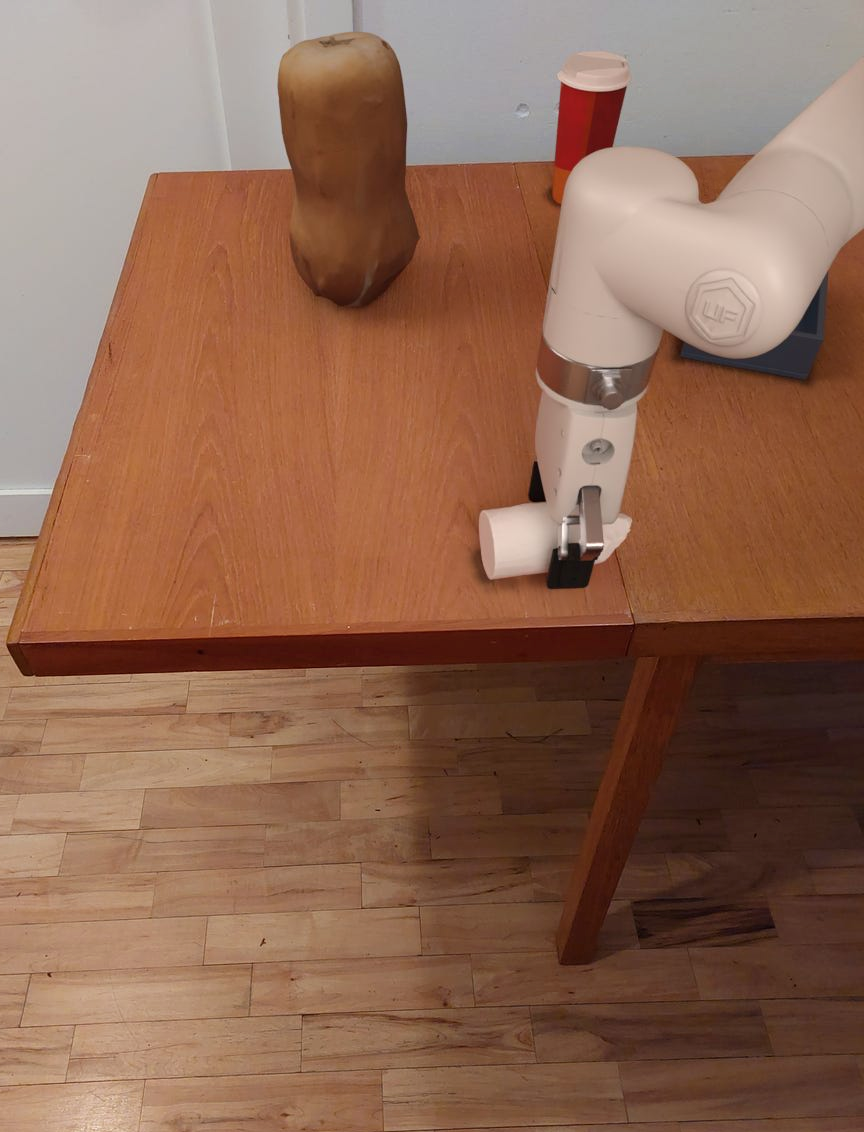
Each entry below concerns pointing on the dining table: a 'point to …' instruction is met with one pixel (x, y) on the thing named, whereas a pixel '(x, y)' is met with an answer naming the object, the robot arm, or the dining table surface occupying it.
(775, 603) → the dining table surface
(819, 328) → the tote
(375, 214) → the butternut squash
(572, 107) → the coffee cup
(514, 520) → the roll
